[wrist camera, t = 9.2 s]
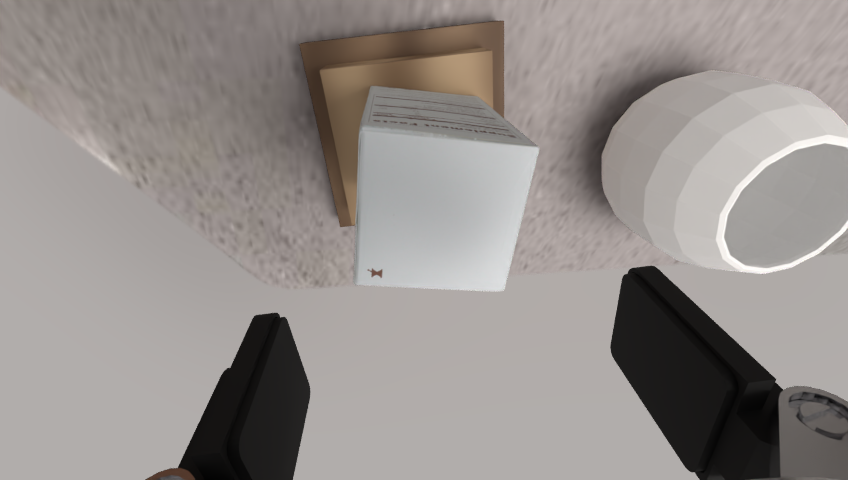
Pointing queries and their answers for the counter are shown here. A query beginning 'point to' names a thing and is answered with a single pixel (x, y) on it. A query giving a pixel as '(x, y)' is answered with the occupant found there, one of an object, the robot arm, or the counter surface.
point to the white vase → (730, 172)
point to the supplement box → (438, 191)
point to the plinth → (386, 49)
